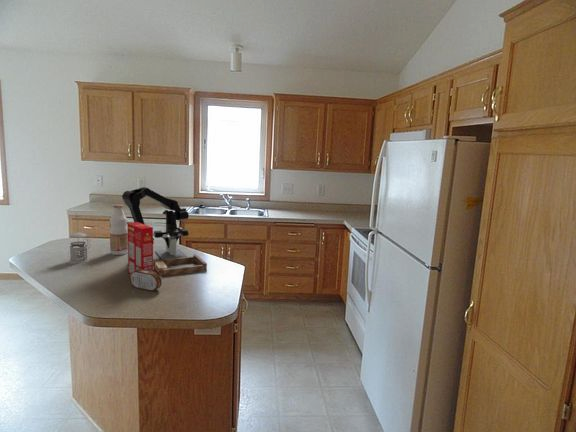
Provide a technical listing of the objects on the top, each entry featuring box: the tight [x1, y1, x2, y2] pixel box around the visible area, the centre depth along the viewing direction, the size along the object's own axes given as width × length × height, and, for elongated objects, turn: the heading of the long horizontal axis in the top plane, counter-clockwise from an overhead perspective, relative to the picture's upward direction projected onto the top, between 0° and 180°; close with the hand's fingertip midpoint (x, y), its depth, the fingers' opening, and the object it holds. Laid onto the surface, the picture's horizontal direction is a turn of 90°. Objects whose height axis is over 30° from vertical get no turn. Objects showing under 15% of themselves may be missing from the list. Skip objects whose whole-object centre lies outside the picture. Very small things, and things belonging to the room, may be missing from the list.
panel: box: [165, 235, 177, 255], centre depth 218 cm, size 3×12×9 cm, turn 31°
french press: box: [68, 214, 91, 265], centre depth 198 cm, size 10×12×25 cm
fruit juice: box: [109, 204, 128, 256], centre depth 215 cm, size 9×9×28 cm
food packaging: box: [126, 222, 154, 275], centre depth 179 cm, size 15×5×25 cm, turn 47°
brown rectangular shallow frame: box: [155, 254, 208, 277], centre depth 196 cm, size 22×18×4 cm
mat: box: [155, 248, 188, 260], centre depth 219 cm, size 14×18×1 cm
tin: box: [129, 269, 163, 292], centre depth 165 cm, size 15×3×8 cm, turn 71°
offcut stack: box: [154, 261, 168, 276], centre depth 191 cm, size 4×13×4 cm, turn 29°
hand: (171, 247), depth 218 cm, fingers closed on panel, 3 cm apart
